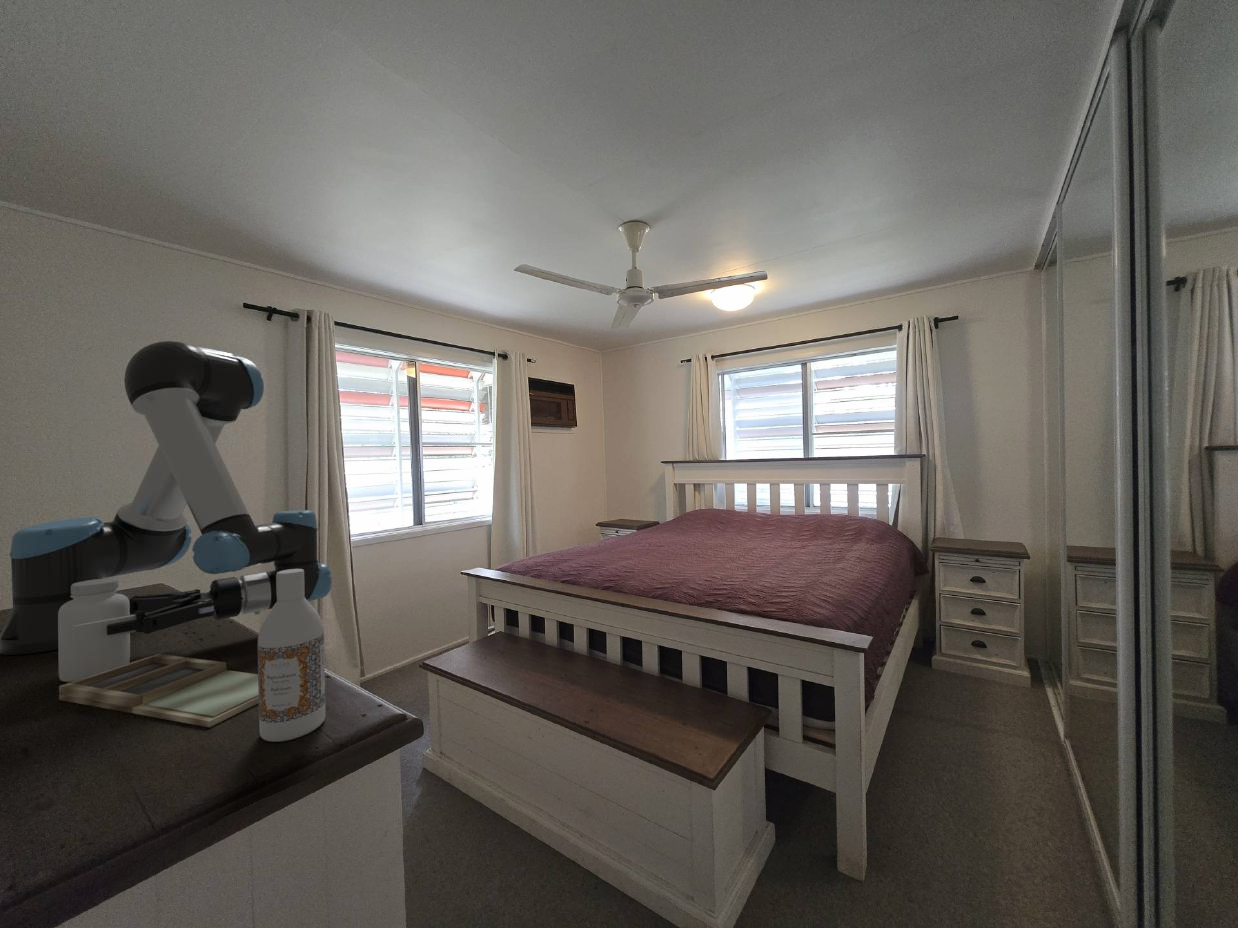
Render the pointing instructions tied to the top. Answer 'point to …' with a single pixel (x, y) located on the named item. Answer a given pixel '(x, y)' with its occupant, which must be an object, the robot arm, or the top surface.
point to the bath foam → (291, 663)
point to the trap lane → (168, 689)
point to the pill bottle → (86, 607)
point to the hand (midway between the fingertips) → (72, 625)
